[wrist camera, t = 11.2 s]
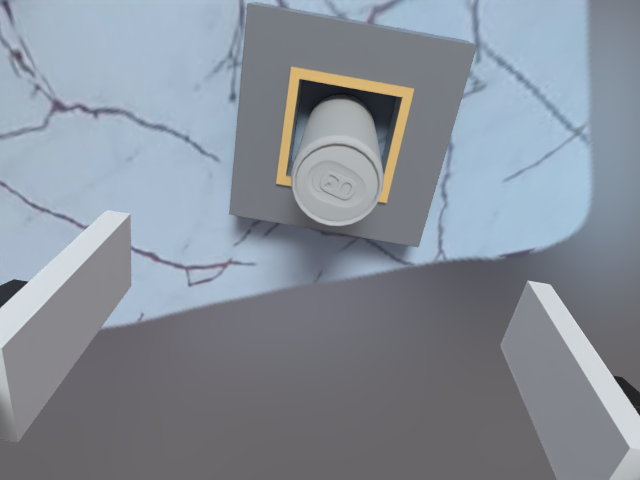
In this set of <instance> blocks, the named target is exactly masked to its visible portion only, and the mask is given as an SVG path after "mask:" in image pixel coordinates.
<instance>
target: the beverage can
mask: <svg viewBox="0 0 640 480" xmlns="http://www.w3.org/2000/svg"><path fill="white" fill-rule="evenodd" d="M383 182H384V174H383V168H382V162H381V156H380V150H379V145H378V139H377V134H376V129H375V125H374V120H373V117H372V115H371V113H370V111H369V110H368V108H367V107H366V106H365V104H364V103H363V102H361V101H360V100H359V99H357V98H356V97H353V96H350V95H345V94H337V95H333V96H329V97H327V98H325V99H323V100H322V101H320V102H319V103H318V104H317V105H316V106H315V107H314V109H313V111H312V112H311V114H310V116H309V119H308V122H307V125H306V128H305V131H304V134H303V137H302V140H301V143H300V146H299V149H298V152H297V155H296V158H295V161H294V164H293V168H292V171H291V185H292V190H293V194H294V197H295V200H296V202H297V203H298V205H299V207H300V209H301V210H302V211H303V212H304V213H305V214H306V215H307V216H308V217H310V218H312V219H313V220H315V221H317V222H319V223H322V224H325V225H329V226H344V225H350V224H353V223H355V222H357V221H360V220H362V219H363V218H364V217H366V216H367V215H368V214H369V213H370V212H371V211H372V210H373V208H374V207H375V206H376V204H377V202H378V200H379V197H380V195H381V192H382V190H383Z"/></svg>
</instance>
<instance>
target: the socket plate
mask: <svg viewBox="0 0 640 480" xmlns="http://www.w3.org/2000/svg"><path fill="white" fill-rule="evenodd" d="M476 47H477V45H475V44H473V43H470V42H468V41H465V40H459V39H454V38H448V37H443V36H437V35H432V34H426V33H421V32H416V31H410V30H405V29H399V28H394V27H388V26H383V25H377V24H372V23H366V22H361V21H355V20H350V19H344V18H339V17H334V16H328V15H323V14H317V13H312V12H306V11H301V10H295V9H290V8H284V7H279V6H273V5H268V4H262V3H257V2H255V3H248V4H247V15H246V27H245V38H244V50H243V62H242V73H241V85H240V96H239V108H238V119H237V131H236V142H235V154H234V165H233V177H232V189H231V200H230V212H229V214H230V215H235V216H241V217H247V218H253V219H258V220H264V221H270V222H276V223H282V224H287V225H293V226H299V227H305V228H310V229H316V230H322V231H328V232H333V233H339V234H345V235H351V236H356V237H362V238H368V239H374V240H379V241H385V242H391V243H397V244H402V245H408V246H414V247H419V244H420V240H421V237H422V233H423V230H424V226H425V223H426V219H427V216H428V213H429V209H430V206H431V202H432V199H433V195H434V192H435V188H436V185H437V182H438V178H439V175H440V171H441V168H442V164H443V161H444V157H445V154H446V150H447V147H448V144H449V140H450V137H451V133H452V130H453V126H454V123H455V119H456V116H457V113H458V109H459V106H460V102H461V99H462V95H463V92H464V88H465V85H466V81H467V78H468V75H469V71H470V68H471V64H472V61H473V57H474V54H475V50H476ZM303 80H309V81H314V82H320V83H326V84H331V85H337V86H342V87H348V88H353V89H359V90H364V91H370V92H376V93H381V94H387V95H392V96H396V100H395V105H394V109H393V113H392V118H391V122H390V126H389V131H388V135H387V139H386V144H385V148H384V152H383V157H382V161H381V162H382V168H383V174H384V182H383V190H382V192H381V195H380V197H379V200H378V202H377V204H376V206H375V207H374V208H373V210H372V211H371V212H370V213H369V214H368V215H367V216H366V217H364V218H363V219H362V220H360V221H357V222H355V223H353V224H350V225H344V226H329V225H325V224H322V223H319V222H317V221H315V220H313V219H312V218H310V217H308V216H307V215H306V214H305V213H304V212H303V211H302V210H301V209H300V207H299V205H298V203H297V202H296V200H295V197H294V194H293V190H292V185H291V171H292V168H293V164H294V163H293V162H291V159H292V152H293V145H294V138H295V131H296V123H297V116H298V109H299V102H300V95H301V88H302V81H303Z"/></svg>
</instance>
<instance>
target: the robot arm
mask: <svg viewBox="0 0 640 480" xmlns="http://www.w3.org/2000/svg"><path fill="white" fill-rule="evenodd" d="M130 287H131V229H130V214H127V213H121V212H115V211H109V210H106V211H105V212H104V213H103V214H102V215H101V216H99V217H98V218H97V219H96V220H95V221H94V222H93V223H92V224H91V225H90V226H89V227H88V228H87V229H85V230H84V231H83V232H82V233H81V234H80V235H79V236H78V237H77V238H76V239H75V240H74V241H72V242H71V243H70V244H69V245H68V246H67V247H66V248H65V249H64V250H63V251H62V252H61V253H59V254H58V255H57V256H56V257H55V258H54V259H53V260H52V261H51V262H50V263H49V264H48V265H46V266H45V267H44V268H43V269H42V270H41V271H40V272H39V273H38V274H37V275H36V276H35V277H33V278H32V279H31V280H30V281H29V282H27V281H21V280H15V279H14V280H12V281H9V282H7V283H5V284H3V285H1V286H0V439H1V440H7V441H13V442H18V441H19V440H20V438H21V437H22V436H23V434H24V433H25V432H26V430H27V429H28V427H29V426H30V425H31V423H32V422H33V421H34V419H35V418H36V416H37V415H38V414H39V412H40V411H41V409H42V408H43V407H44V405H45V404H46V403H47V401H48V400H49V398H50V397H51V396H52V394H53V393H54V392H55V390H56V389H57V387H58V386H59V385H60V383H61V382H62V381H63V379H64V378H65V376H66V375H67V374H68V372H69V371H70V370H71V368H72V367H73V365H74V364H75V363H76V361H77V360H78V358H79V357H80V356H81V354H82V353H83V352H84V350H85V349H86V347H87V346H88V345H89V343H90V342H91V340H92V339H93V338H94V336H95V335H96V334H97V332H98V331H99V329H100V328H101V327H102V325H103V324H104V323H105V321H106V320H107V318H108V317H109V316H110V314H111V313H112V312H113V310H114V309H115V307H116V306H117V305H118V303H119V302H120V301H121V299H122V298H123V296H124V295H125V294H126V292H127V291H128V289H129V288H130ZM500 347H501V349H502V351H503V353H504V356H505V358H506V361H507V363H508V365H509V367H510V370H511V372H512V375H513V377H514V379H515V382H516V384H517V387H518V389H519V391H520V393H521V396H522V398H523V401H524V403H525V405H526V407H527V410H528V412H529V415H530V417H531V419H532V422H533V424H534V426H535V429H536V431H537V434H538V436H539V438H540V441H541V443H542V445H543V448H544V450H545V452H546V454H547V457H548V459H549V462H550V464H551V466H552V469H553V471H554V473H555V476H556V478H557V480H640V393H639V392H638V391H637V390H636V389H635V388H634V387H633V386H631V385H630V384H629V383H628V382H627V381H626V380H625V379H623V378H622V377H618V376H612V375H611V373H610V372H609V370H608V369H607V367H606V366H605V364H604V363H603V361H602V360H601V358H600V357H599V355H598V354H597V353H596V351H595V350H594V348H593V347H592V345H591V344H590V342H589V341H588V339H587V338H586V336H585V335H584V333H583V332H582V331H581V329H580V328H579V326H578V325H577V323H576V322H575V320H574V319H573V317H572V316H571V314H570V313H569V311H568V310H567V309H566V307H565V306H564V304H563V303H562V301H561V300H560V298H559V297H558V295H557V294H556V292H555V291H554V290H553V288H552V286H551V285H550V284H543V283H537V282H532V281H527V284H526V286H525V288H524V291H523V293H522V295H521V298H520V300H519V302H518V305H517V307H516V310H515V312H514V314H513V317H512V319H511V321H510V324H509V326H508V329H507V331H506V333H505V336H504V338H503V340H502V343H501V345H500Z"/></svg>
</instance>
